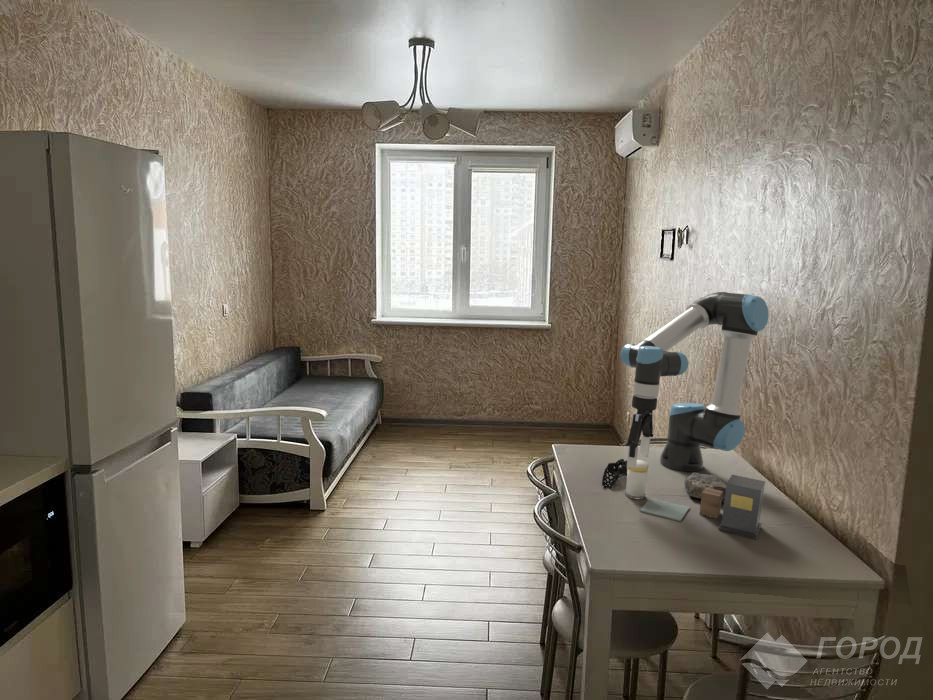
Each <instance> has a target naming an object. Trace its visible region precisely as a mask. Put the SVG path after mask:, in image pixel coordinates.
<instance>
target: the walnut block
mask: <svg viewBox="0 0 933 700" xmlns="http://www.w3.org/2000/svg"><path fill="white" fill-rule="evenodd" d="M722 493H723V491H719V490H714V489H710V488H705V489H704V490H703V492H702V498H700V499H701V500H700V507H699V515H700V514H703V515H702V516H704V515H707V516H706V517H708V516H711V517H710V518H712V517H714V518H713V519H718V517H719V516H720V514H719V513H721V507H722V502H721V501H722ZM718 515H719V516H718Z"/></svg>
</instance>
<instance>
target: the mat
mask: <svg viewBox="0 0 933 700" xmlns="http://www.w3.org/2000/svg"><path fill="white" fill-rule="evenodd" d="M688 509H689V510H690V506H686V505H682V504H677V503H674V502H669V501H665V500H661V499H657V498H653V497H650V498H649V499H648V500H647V501H646V502H645V503H644V505H643V506H641V508H640V509H639V512H641V513H645V514H649V515H653V516H656V517H661V518H665V519H668V520H672V521H676V522H682V520H683V518H685V516H686V514H688V511H689V510H688Z"/></svg>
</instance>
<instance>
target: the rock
mask: <svg viewBox="0 0 933 700" xmlns="http://www.w3.org/2000/svg"><path fill="white" fill-rule="evenodd" d="M726 485H727V484H725V483H724V482H723V481H722V480H721V479H720V477H719V476H717V475H713V474H705V473H698V472H697V471H694V472H692V474H690V475H689V476H688V477H685V479H684V489H685V490H686V492H687V493H688V495H689V496H690V497H692V498H697V499H701V498H702V492H703V490H704V489H705V488H710V489H714V490H719V491H723V493H722V501H721V503H724V501H725V493H726Z"/></svg>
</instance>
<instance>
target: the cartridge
mask: <svg viewBox="0 0 933 700" xmlns="http://www.w3.org/2000/svg"><path fill="white" fill-rule="evenodd" d="M648 471H649V463H648V462H647V461H645V460H642V459H637V464H636V468H633V467H629V466H627V473H626V474H627V475H626V484H625V492H624V495H625V496H626V497H627V496H628V497H627V498H629V497H632V498H644V497H645V498H646V485H647V480H648V479H647V477H648ZM632 498H631V499H632ZM645 498H644V499H645Z"/></svg>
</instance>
